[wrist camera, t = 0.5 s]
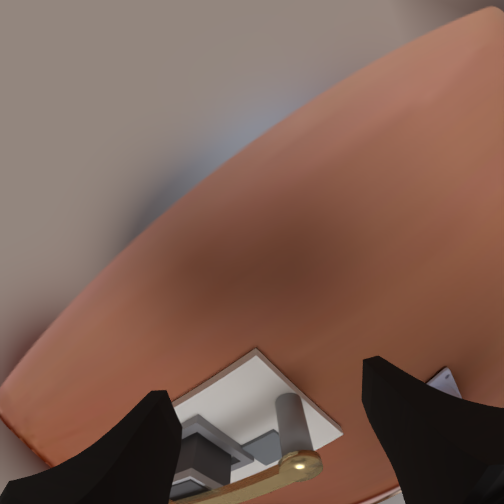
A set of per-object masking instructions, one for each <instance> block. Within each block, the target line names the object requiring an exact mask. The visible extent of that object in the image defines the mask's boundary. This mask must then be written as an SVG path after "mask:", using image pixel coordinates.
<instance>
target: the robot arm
mask: <svg viewBox="0 0 504 504" xmlns="http://www.w3.org/2000/svg"><path fill="white" fill-rule="evenodd" d="M362 403H363V405H364V408H365V411H366V414H367V417H368V419H369V422H370V424H371V426H372V428H373V430H374V432H375V433H376V435H377V437H378V439H379V441H380V443H381V445H382V447H383V449H384V451H385V452H386V454H387V456H388V458H389V460H390V462H391V464H392V466H393V469H394V471H395V473H396V476H397V479H398V482H399V485H400V488H401V491H402V494H403V497H404V500H405V503H406V504H504V408H499V407H493V406H487V405H483V404H479V403H474V402H471V401H467V400H464V399H462V397H461V395H460V392H459V390H458V388H457V385H456V383H455V380H454V378H453V376H452V374H451V371H450V370H449V369H448V368H444V369H443V370H442V371H441V372H439V373H438V374H437V375H436V376H435V377H434V378H432V379H431V380H430V381H429V382H428V383H427V384H426V383H424V382H422V381H420V380H418V379H416V378H415V377H413V376H411V375H409V374H408V373H406V372H404V371H403V370H401V369H399V368H398V367H396V366H395V365H393V364H391V363H390V362H388V361H387V360H385V359H383V358H382V357H380V356H375V357H371V358H368V359H364V360H363V379H362ZM182 428H183V427H182V425H181V423H180V421H179V418H178V416H177V414H176V412H175V409H174V407H173V405H172V403H171V400H170V398H169V395H168V393H167V391H166V390H158V391H151V392H150V393H148V394H147V395H146V396H145V397H144V398H143V399H142V400H141V401H140V402H139V403H138V404H137V405H136V406H135V407H134V408H133V409H132V410H131V411H130V412H129V413H128V414H127V415H126V416H125V417H124V418H123V419H122V420H121V421H120V422H119V423H118V424H117V425H115V426H114V427H113V428H112V429H111V430H110V431H109V432H107V433H106V434H105V435H104V436H103V437H102V438H100V439H99V440H98V441H97V442H95V443H94V444H93V445H91V446H90V447H88V448H87V449H85V450H84V451H82V452H81V453H79V454H78V455H76V456H74V457H72V458H71V459H69V460H67V461H65V462H63V463H61V464H59V465H57V466H55V467H53V468H51V469H48V470H46V471H43V472H41V473H38V474H35V475H32V476H28V477H25V478H21V479H17V480H13V481H9V482H8V484H7V485H6V487H5V489H4V490H3V492H2V494H1V496H0V504H168V503H169V497H170V492H171V488H172V484H173V480H174V475H175V471H176V467H177V463H178V459H179V454H180V450H181V441H182Z"/></svg>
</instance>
